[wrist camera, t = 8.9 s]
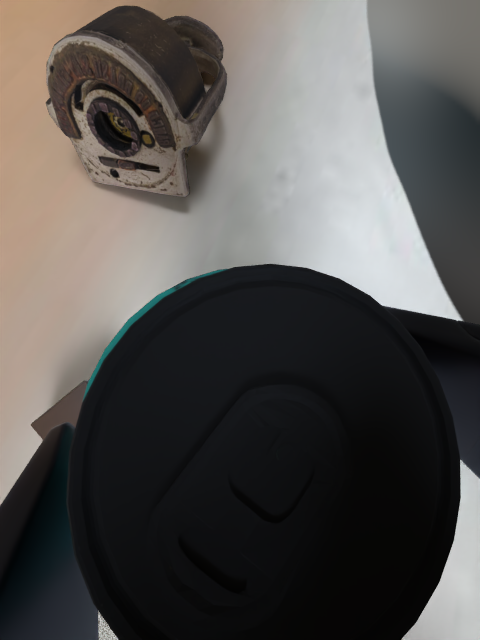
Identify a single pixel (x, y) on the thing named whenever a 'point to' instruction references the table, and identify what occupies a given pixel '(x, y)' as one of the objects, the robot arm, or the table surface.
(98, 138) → the mechanical counter
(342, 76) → the table surface
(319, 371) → the beverage can
